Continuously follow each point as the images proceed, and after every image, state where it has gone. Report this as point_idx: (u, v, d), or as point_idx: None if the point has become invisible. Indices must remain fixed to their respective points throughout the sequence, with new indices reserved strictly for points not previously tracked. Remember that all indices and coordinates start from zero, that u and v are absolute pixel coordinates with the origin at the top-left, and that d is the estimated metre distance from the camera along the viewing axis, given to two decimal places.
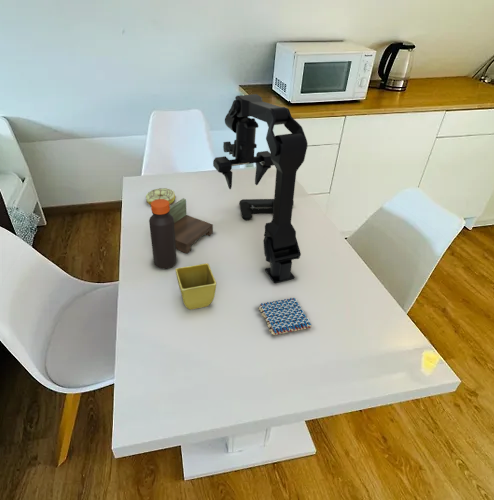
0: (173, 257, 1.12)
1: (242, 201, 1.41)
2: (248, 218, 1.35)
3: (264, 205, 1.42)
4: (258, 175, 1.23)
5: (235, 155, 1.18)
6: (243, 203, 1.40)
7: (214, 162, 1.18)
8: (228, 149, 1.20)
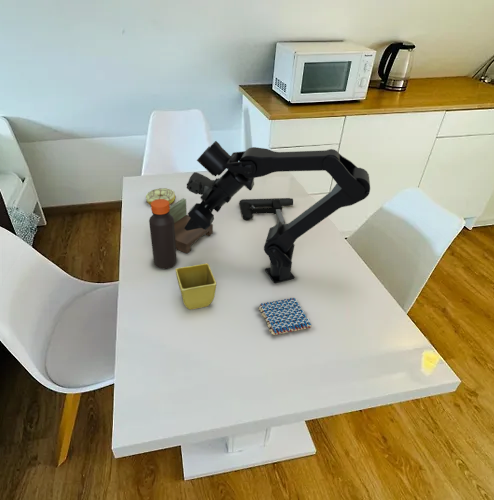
0: (173, 257, 1.12)
1: (242, 201, 1.41)
2: (248, 218, 1.35)
3: (264, 205, 1.42)
4: None
5: (209, 201, 1.01)
6: (243, 203, 1.40)
7: (195, 215, 0.96)
8: (199, 191, 0.99)
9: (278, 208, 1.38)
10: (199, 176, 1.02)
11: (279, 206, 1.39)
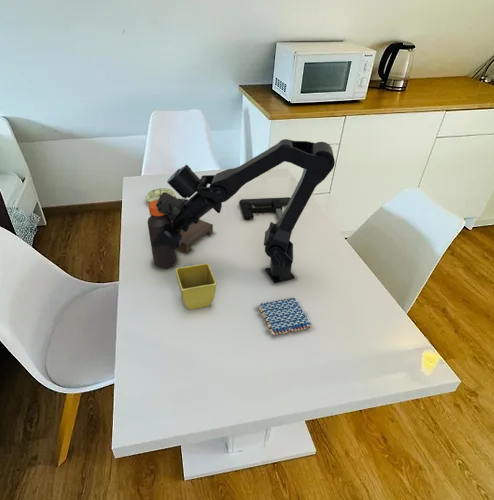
0: (173, 257, 1.12)
1: (242, 201, 1.41)
2: (249, 218, 1.35)
3: (264, 204, 1.42)
4: None
5: (177, 221, 1.03)
6: (243, 203, 1.40)
7: (165, 236, 0.98)
8: (168, 212, 1.01)
9: (278, 207, 1.39)
10: (168, 196, 1.03)
11: (279, 205, 1.39)
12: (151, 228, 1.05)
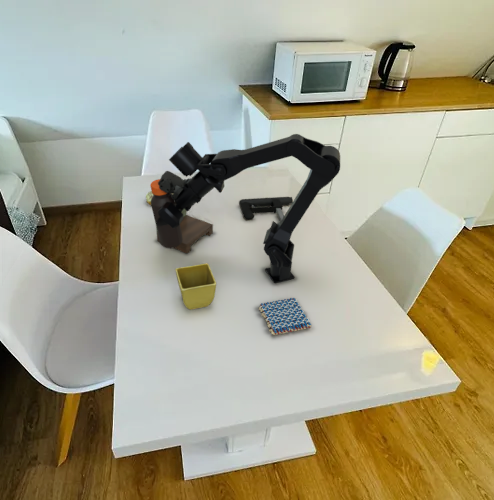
0: (177, 237, 1.12)
1: (242, 201, 1.41)
2: (250, 218, 1.35)
3: (264, 204, 1.42)
4: None
5: (179, 200, 1.02)
6: (243, 203, 1.41)
7: (165, 214, 0.98)
8: (170, 190, 1.00)
9: (278, 207, 1.39)
10: (171, 175, 1.03)
11: (279, 205, 1.39)
12: (153, 207, 1.05)
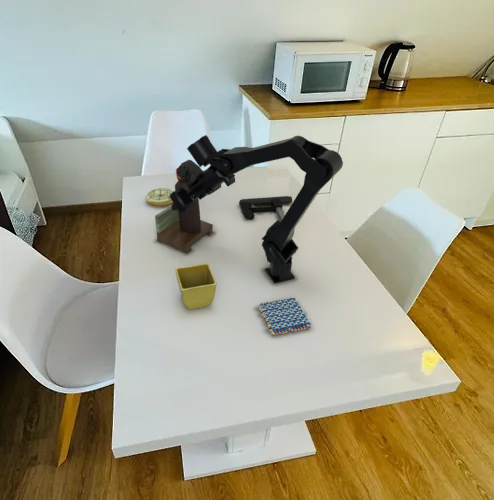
0: (193, 223, 1.20)
1: (242, 201, 1.41)
2: (250, 218, 1.35)
3: (264, 204, 1.43)
4: None
5: (193, 188, 1.10)
6: (243, 203, 1.41)
7: (174, 198, 1.07)
8: (185, 177, 1.09)
9: (278, 206, 1.39)
10: (191, 164, 1.11)
11: (279, 204, 1.40)
12: None
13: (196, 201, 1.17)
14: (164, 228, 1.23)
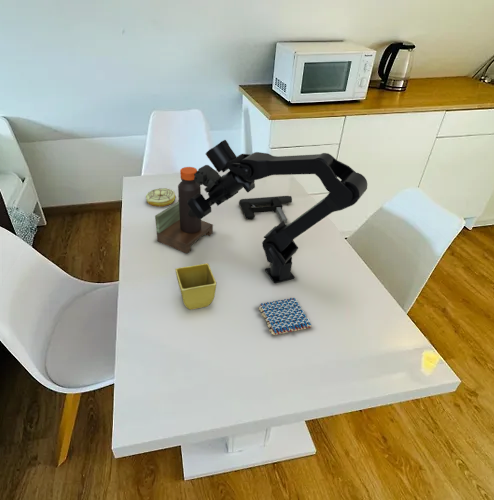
0: (194, 224, 1.20)
1: (242, 201, 1.41)
2: (251, 218, 1.35)
3: (264, 203, 1.43)
4: None
5: (211, 194, 1.08)
6: (244, 203, 1.41)
7: (192, 204, 1.04)
8: (203, 183, 1.06)
9: (278, 206, 1.40)
10: (209, 169, 1.09)
11: (279, 204, 1.40)
12: (178, 190, 1.15)
13: None
14: (164, 228, 1.23)
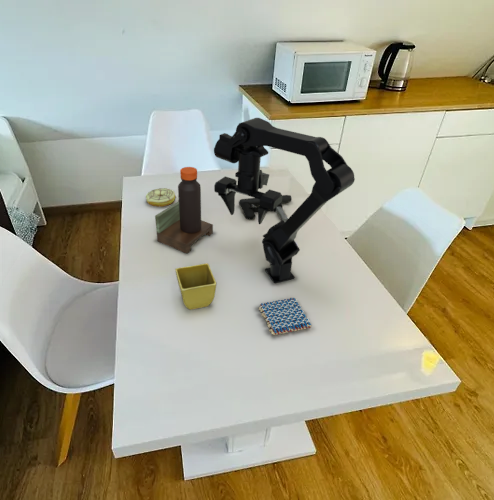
0: (194, 224, 1.20)
1: (242, 201, 1.41)
2: (252, 217, 1.35)
3: None
4: None
5: None
6: (244, 203, 1.41)
7: None
8: None
9: (278, 205, 1.40)
10: (263, 173, 1.09)
11: None
12: (178, 190, 1.15)
13: (198, 202, 1.17)
14: (164, 228, 1.23)
